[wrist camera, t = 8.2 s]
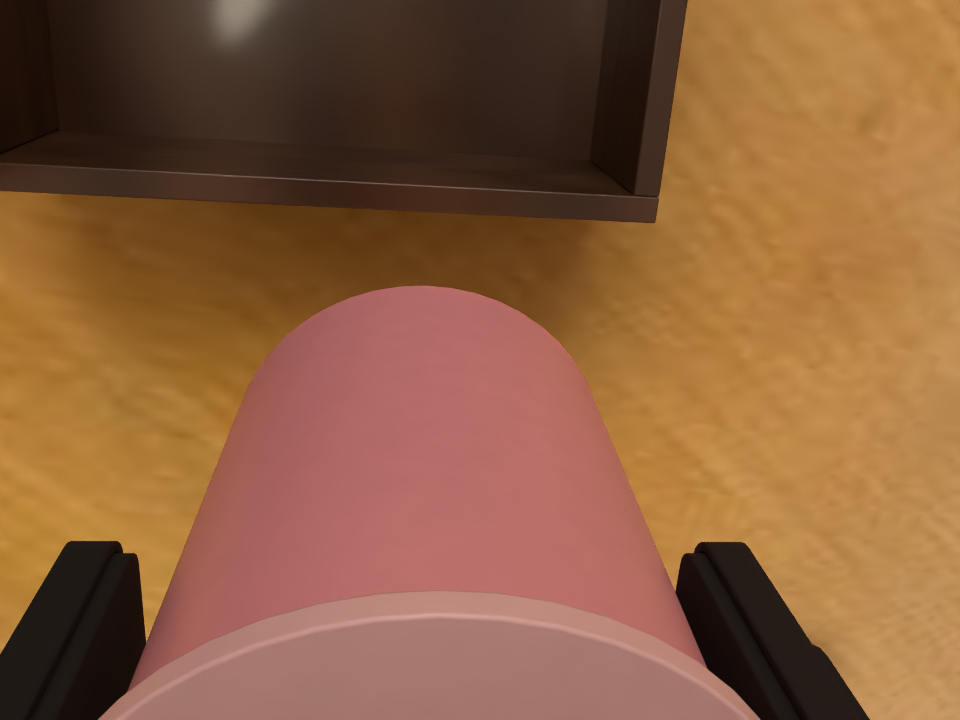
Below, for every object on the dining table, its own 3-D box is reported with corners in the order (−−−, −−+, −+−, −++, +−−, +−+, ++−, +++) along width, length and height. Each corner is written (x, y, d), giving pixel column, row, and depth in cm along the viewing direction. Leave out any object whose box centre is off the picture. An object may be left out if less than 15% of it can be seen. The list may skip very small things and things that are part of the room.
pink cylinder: (200, 258, 13) (-60, 617, 6) (640, 270, 14) (897, 611, 6) (229, 618, 16) (72, 1174, 9) (597, 616, 16) (746, 1138, 9)
